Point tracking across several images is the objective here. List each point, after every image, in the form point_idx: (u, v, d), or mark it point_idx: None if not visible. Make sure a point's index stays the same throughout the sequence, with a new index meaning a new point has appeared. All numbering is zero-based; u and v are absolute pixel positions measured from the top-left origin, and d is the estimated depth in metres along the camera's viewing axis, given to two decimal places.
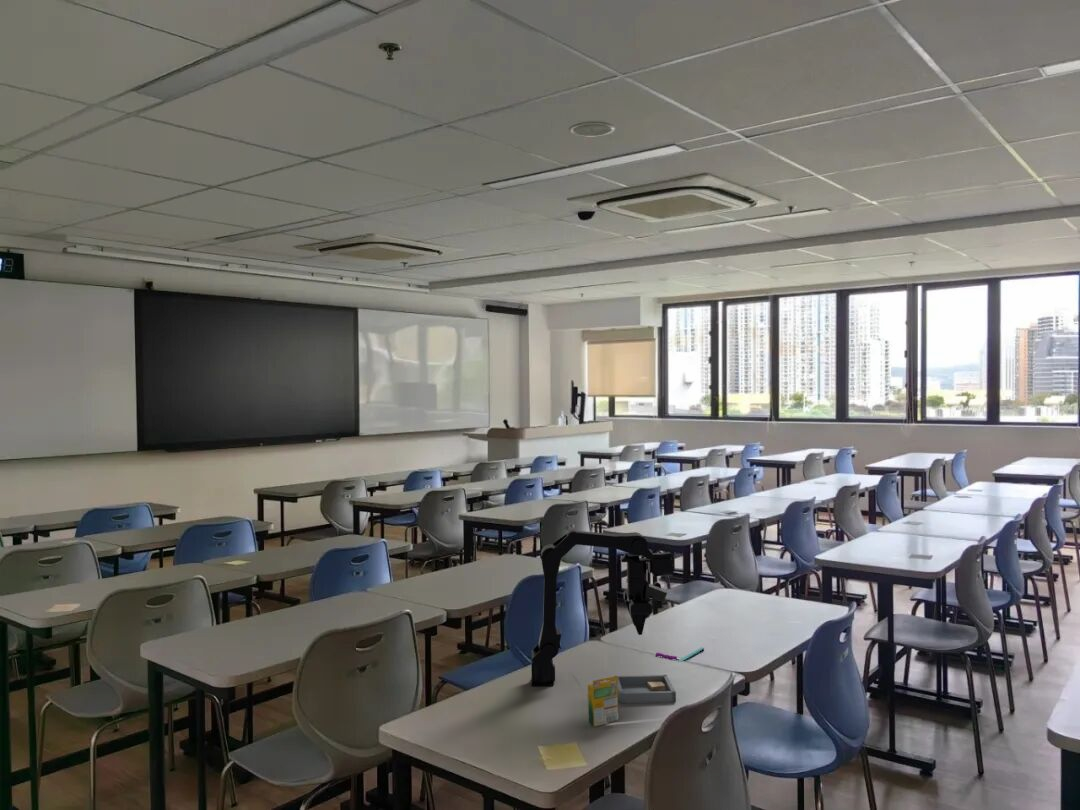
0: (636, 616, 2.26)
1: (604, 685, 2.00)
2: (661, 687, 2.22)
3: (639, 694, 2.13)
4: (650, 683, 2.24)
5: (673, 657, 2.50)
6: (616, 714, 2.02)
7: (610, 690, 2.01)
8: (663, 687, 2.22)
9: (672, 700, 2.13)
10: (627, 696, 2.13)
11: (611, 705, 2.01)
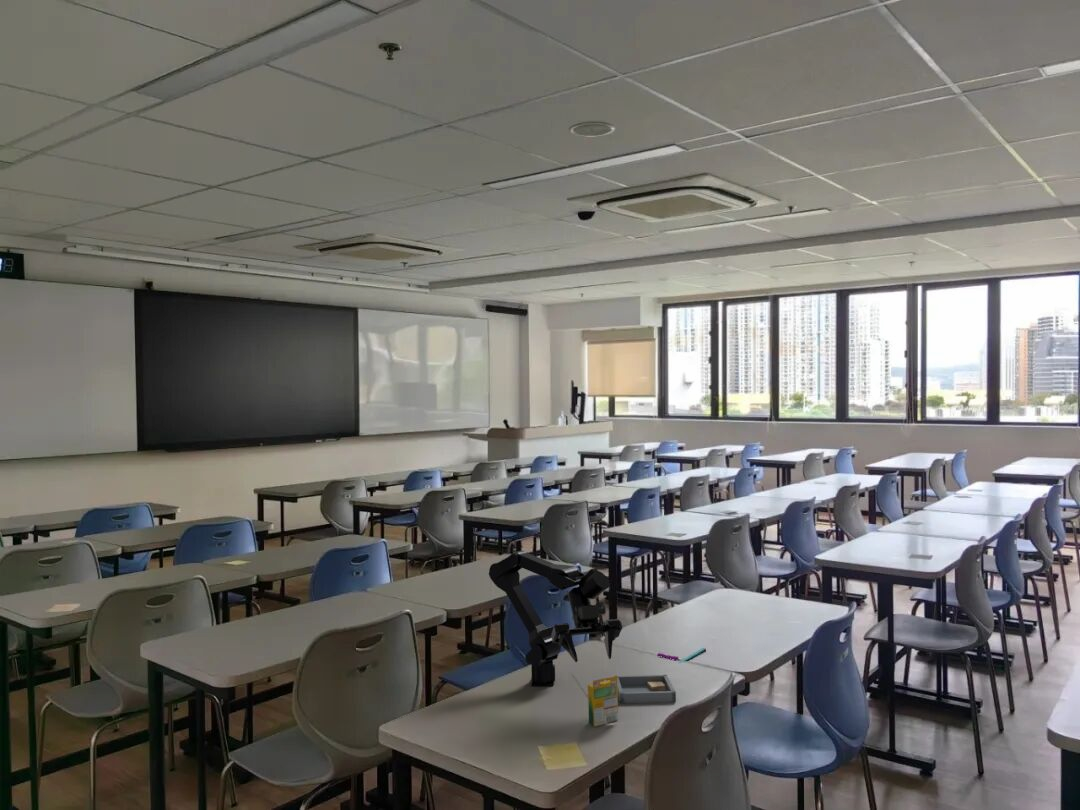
0: (566, 644, 2.13)
1: (604, 685, 2.00)
2: (661, 687, 2.22)
3: (639, 694, 2.13)
4: (650, 683, 2.24)
5: (675, 657, 2.49)
6: (616, 714, 2.02)
7: (610, 690, 2.01)
8: (663, 687, 2.22)
9: (672, 700, 2.13)
10: (627, 696, 2.13)
11: (611, 705, 2.01)
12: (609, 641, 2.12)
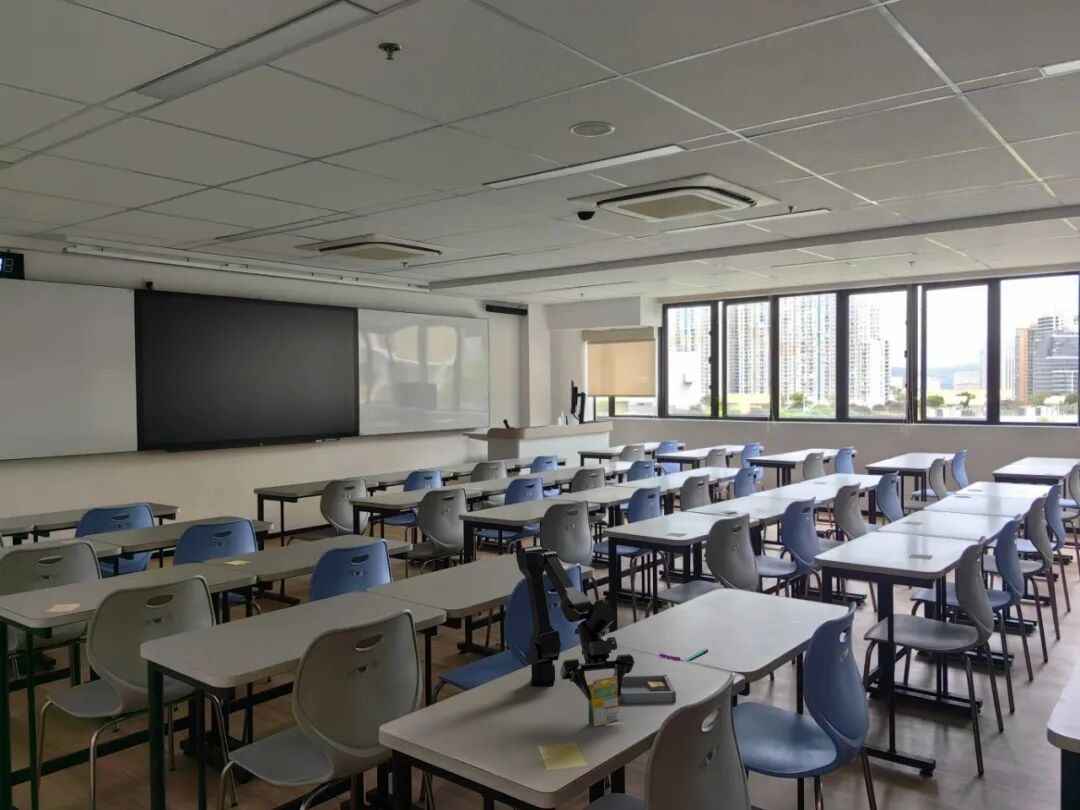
0: (578, 681, 2.04)
1: (604, 685, 2.00)
2: (661, 687, 2.22)
3: (639, 694, 2.13)
4: (650, 683, 2.24)
5: (676, 658, 2.49)
6: (616, 714, 2.02)
7: (610, 690, 2.01)
8: (663, 687, 2.22)
9: (672, 700, 2.13)
10: (627, 696, 2.13)
11: (611, 705, 2.01)
12: (618, 678, 2.03)
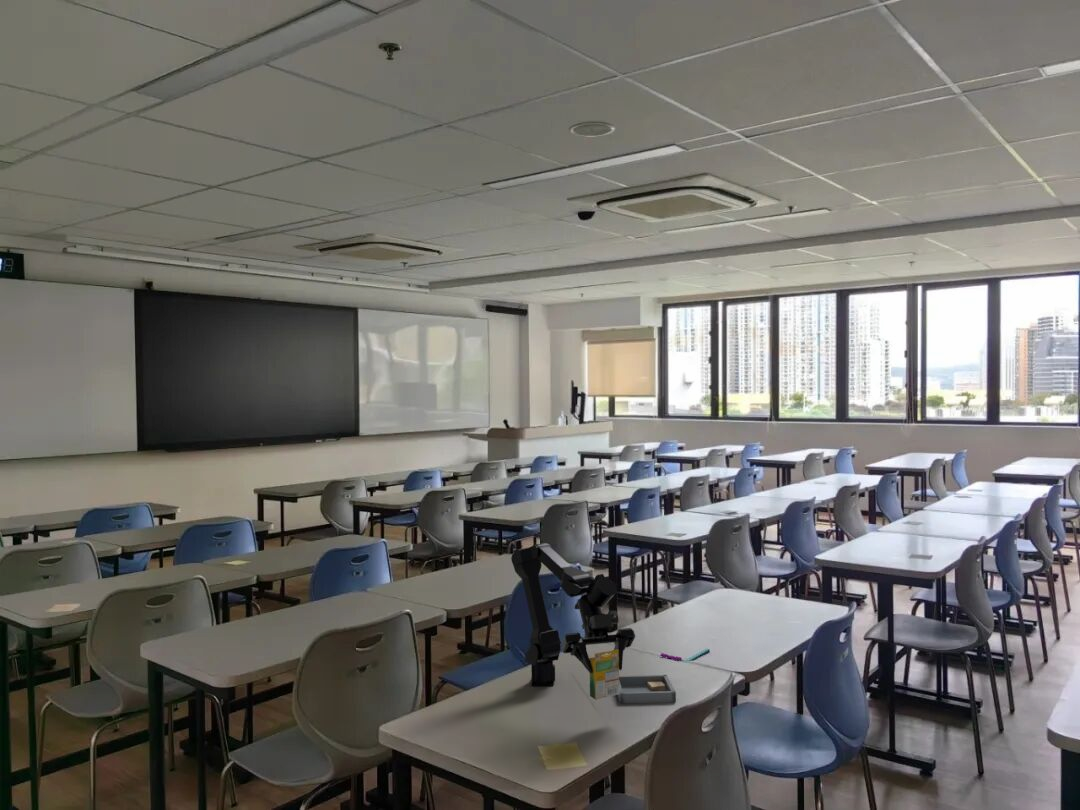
0: (579, 654, 2.04)
1: (606, 658, 2.01)
2: (661, 687, 2.22)
3: (639, 694, 2.13)
4: (650, 683, 2.24)
5: (678, 658, 2.49)
6: (617, 687, 2.02)
7: (611, 663, 2.01)
8: (663, 687, 2.22)
9: (672, 700, 2.13)
10: (627, 696, 2.13)
11: (612, 678, 2.02)
12: (619, 651, 2.04)
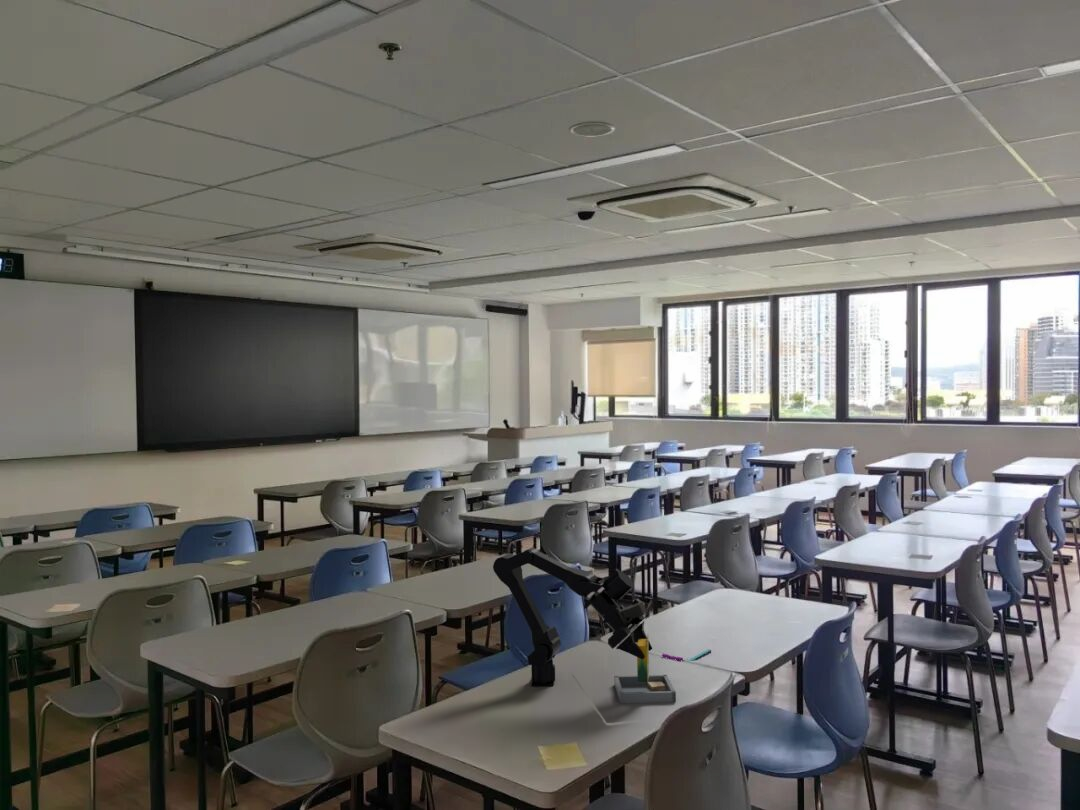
0: (625, 646, 2.16)
1: (647, 642, 2.19)
2: (661, 687, 2.22)
3: (639, 694, 2.13)
4: (650, 683, 2.24)
5: (679, 658, 2.49)
6: None
7: (648, 646, 2.21)
8: (663, 687, 2.22)
9: (672, 700, 2.13)
10: (627, 696, 2.13)
11: (648, 659, 2.21)
12: (644, 634, 2.24)
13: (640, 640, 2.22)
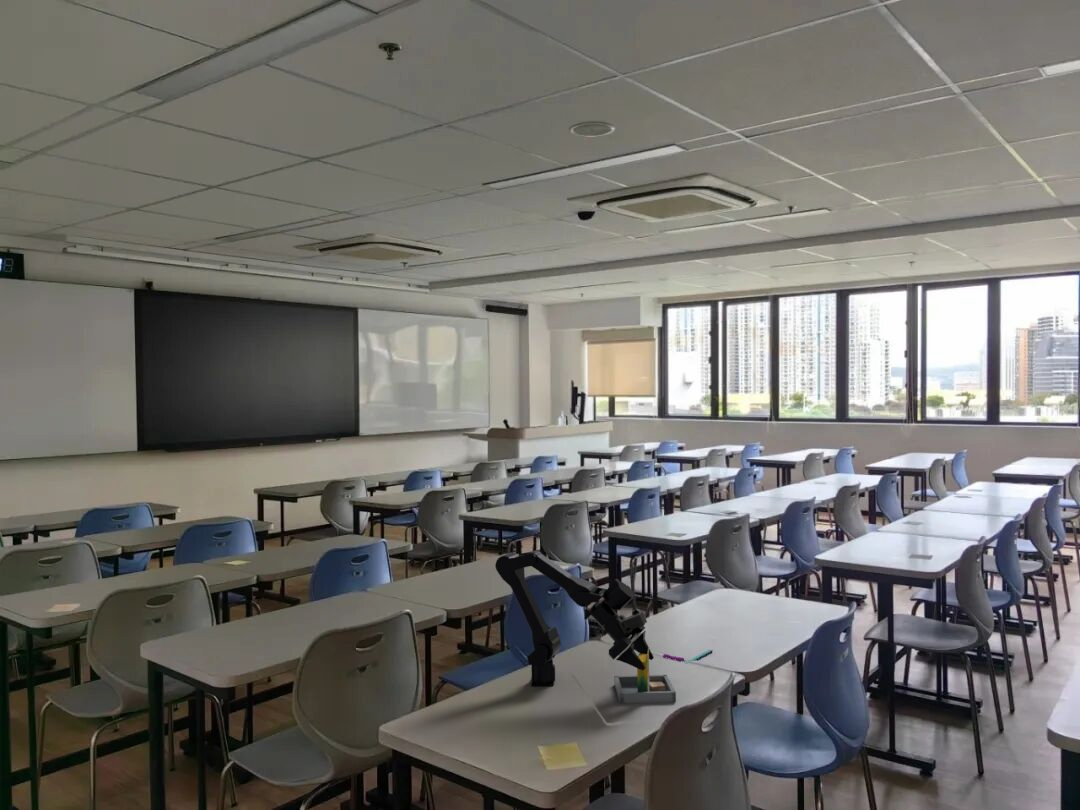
0: (625, 657, 2.15)
1: None
2: (661, 687, 2.22)
3: (639, 694, 2.13)
4: (650, 683, 2.24)
5: (680, 658, 2.48)
6: (649, 682, 2.22)
7: (648, 661, 2.21)
8: (663, 687, 2.22)
9: (672, 700, 2.13)
10: (627, 696, 2.13)
11: None
12: (645, 644, 2.25)
13: (640, 655, 2.22)
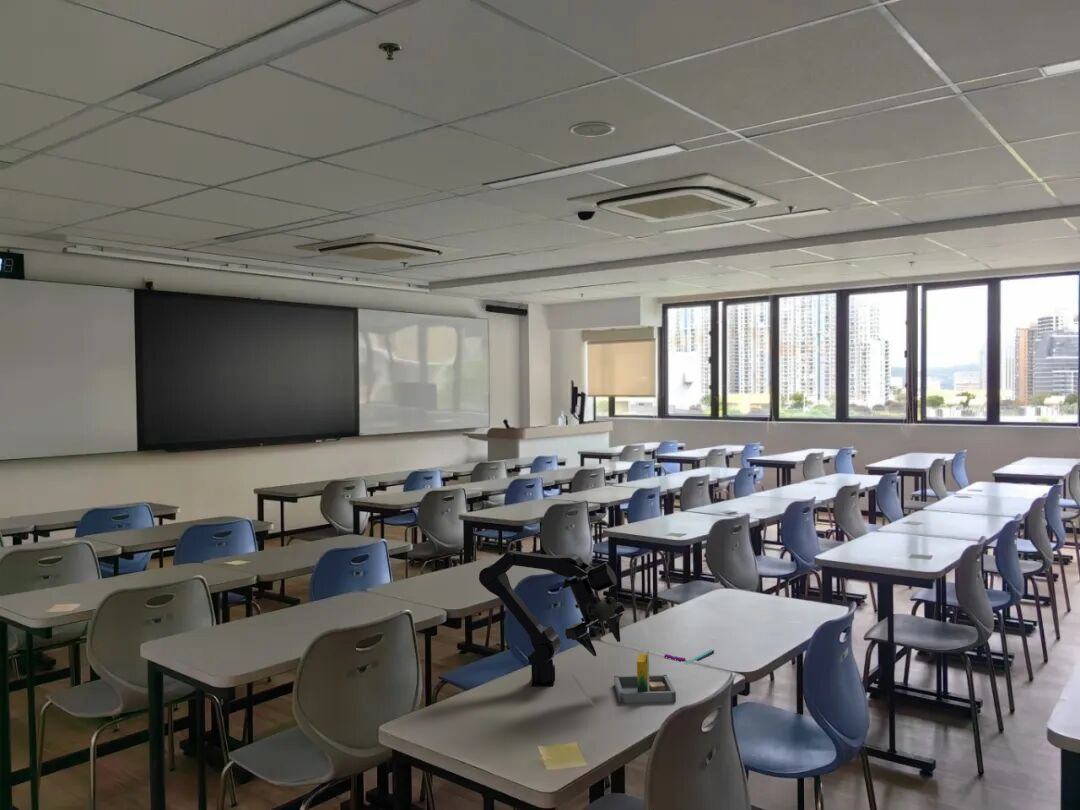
0: (581, 639, 2.23)
1: (647, 658, 2.19)
2: (661, 687, 2.22)
3: (639, 694, 2.13)
4: (650, 683, 2.24)
5: (681, 659, 2.48)
6: None
7: (648, 661, 2.21)
8: (663, 687, 2.22)
9: (672, 700, 2.13)
10: (627, 696, 2.13)
11: None
12: (617, 626, 2.27)
13: (640, 655, 2.22)
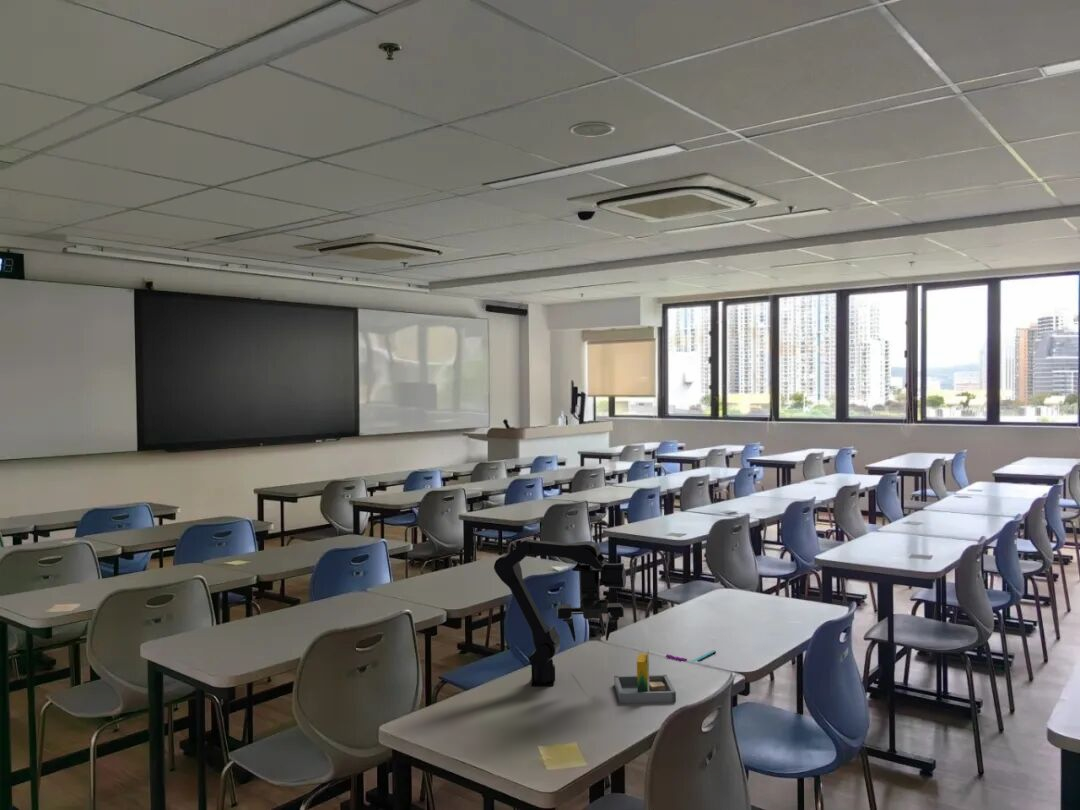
0: None
1: (647, 658, 2.19)
2: (661, 687, 2.22)
3: (639, 694, 2.13)
4: (650, 683, 2.24)
5: (683, 659, 2.48)
6: None
7: (648, 661, 2.21)
8: (663, 687, 2.22)
9: (672, 700, 2.13)
10: (627, 696, 2.13)
11: None
12: (608, 627, 2.26)
13: (640, 655, 2.22)
